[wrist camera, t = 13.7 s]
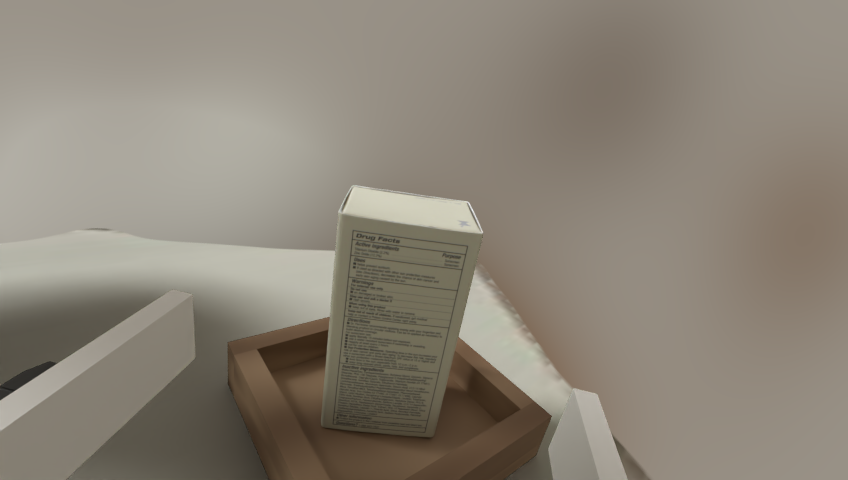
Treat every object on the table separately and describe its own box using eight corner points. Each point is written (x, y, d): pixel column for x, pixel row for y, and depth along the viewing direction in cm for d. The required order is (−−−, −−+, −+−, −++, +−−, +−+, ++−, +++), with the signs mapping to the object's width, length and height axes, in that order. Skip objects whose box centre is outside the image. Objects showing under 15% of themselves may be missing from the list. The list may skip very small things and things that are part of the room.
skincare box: (430, 383, 25) (474, 201, 21) (434, 444, 21) (490, 233, 17) (329, 371, 25) (351, 180, 20) (314, 431, 21) (337, 209, 16)
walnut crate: (227, 383, 24) (227, 342, 23) (404, 328, 32) (411, 296, 31) (326, 612, 15) (334, 562, 14) (536, 455, 23) (551, 416, 22)
